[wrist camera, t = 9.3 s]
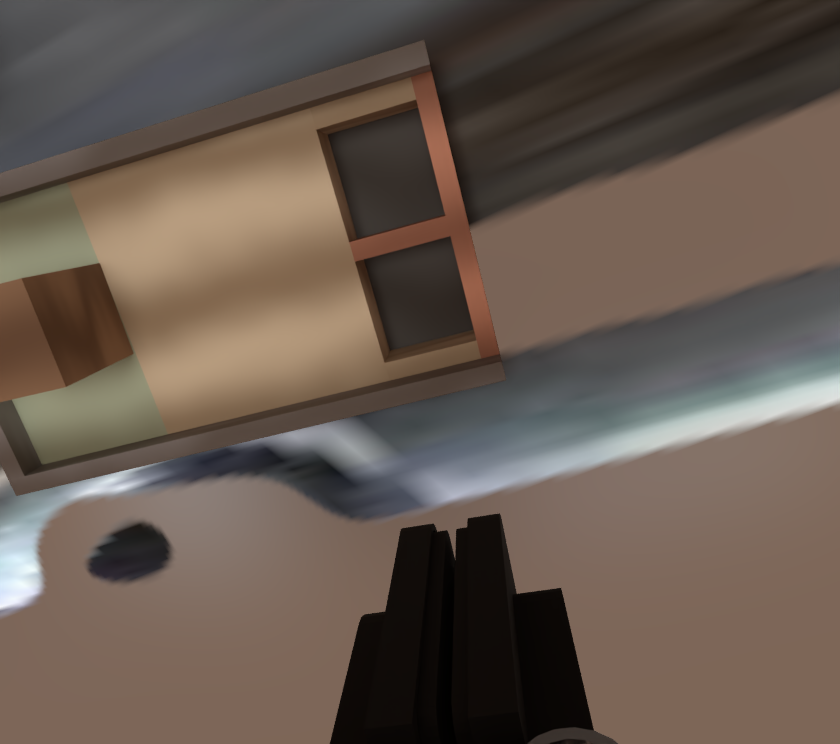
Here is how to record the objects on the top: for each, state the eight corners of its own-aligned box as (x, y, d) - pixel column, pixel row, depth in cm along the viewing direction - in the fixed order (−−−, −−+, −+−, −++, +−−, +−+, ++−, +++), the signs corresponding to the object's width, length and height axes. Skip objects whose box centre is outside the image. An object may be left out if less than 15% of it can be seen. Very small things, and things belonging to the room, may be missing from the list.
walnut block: (14, 284, 33) (-81, 304, 27) (99, 262, 32) (21, 278, 26) (51, 372, 34) (-32, 409, 28) (133, 353, 33) (66, 387, 28)
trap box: (-50, 209, 35) (-122, 211, 30) (428, 61, 31) (423, 40, 27) (65, 462, 39) (16, 495, 35) (500, 357, 35) (506, 380, 31)
